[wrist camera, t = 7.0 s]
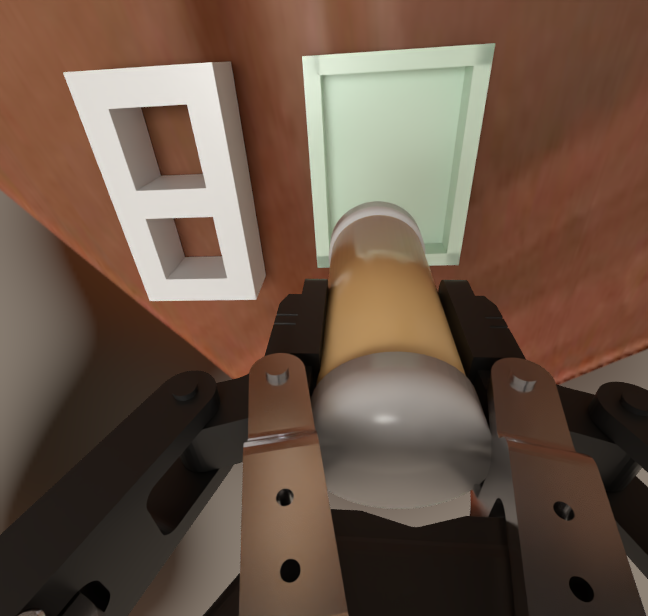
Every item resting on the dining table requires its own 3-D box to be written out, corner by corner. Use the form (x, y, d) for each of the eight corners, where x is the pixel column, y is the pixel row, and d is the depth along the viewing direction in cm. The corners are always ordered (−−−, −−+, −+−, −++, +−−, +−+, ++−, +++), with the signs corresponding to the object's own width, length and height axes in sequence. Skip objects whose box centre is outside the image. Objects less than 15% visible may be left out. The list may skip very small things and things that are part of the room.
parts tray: (306, 56, 24) (302, 56, 22) (482, 44, 23) (495, 43, 21) (319, 253, 32) (317, 267, 30) (451, 251, 31) (458, 264, 29)
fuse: (329, 201, 15) (296, 394, 7) (426, 200, 14) (519, 402, 6) (331, 283, 17) (308, 504, 9) (415, 283, 17) (474, 513, 8)
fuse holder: (101, 70, 25) (63, 72, 22) (231, 61, 24) (211, 62, 21) (169, 277, 34) (149, 300, 31) (265, 275, 33) (256, 299, 30)
